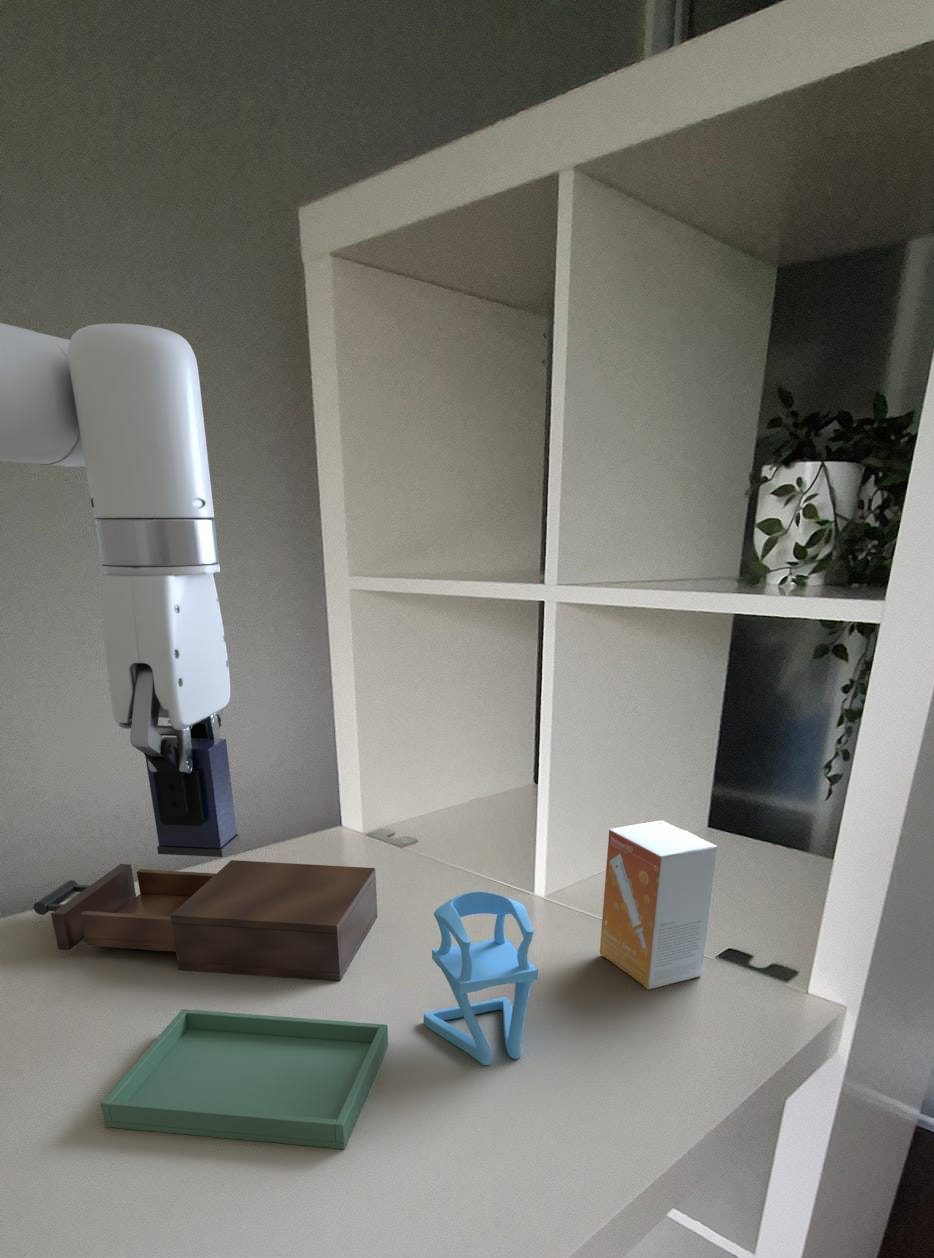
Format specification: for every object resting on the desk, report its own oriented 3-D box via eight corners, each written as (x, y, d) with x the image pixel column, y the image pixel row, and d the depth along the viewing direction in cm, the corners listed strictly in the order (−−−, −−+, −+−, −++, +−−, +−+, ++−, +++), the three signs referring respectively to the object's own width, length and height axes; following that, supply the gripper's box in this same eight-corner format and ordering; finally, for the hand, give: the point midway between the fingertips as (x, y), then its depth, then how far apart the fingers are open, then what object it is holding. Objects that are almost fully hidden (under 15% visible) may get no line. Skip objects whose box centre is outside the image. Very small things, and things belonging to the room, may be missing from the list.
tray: (104, 1127, 63) (99, 1103, 62) (185, 1029, 75) (182, 1008, 74) (344, 1149, 61) (343, 1125, 60) (388, 1045, 73) (387, 1024, 72)
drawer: (16, 947, 87) (7, 910, 85) (88, 894, 99) (82, 861, 97) (203, 960, 85) (198, 923, 83) (254, 904, 97) (250, 870, 95)
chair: (457, 1073, 69) (456, 931, 64) (422, 1021, 76) (419, 890, 71) (547, 1053, 72) (553, 915, 67) (506, 1005, 79) (508, 877, 74)
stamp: (157, 854, 67) (141, 747, 64) (178, 838, 71) (163, 736, 67) (222, 857, 67) (209, 750, 63) (239, 841, 70) (228, 738, 67)
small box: (597, 955, 88) (606, 827, 83) (651, 943, 91) (663, 818, 85) (647, 991, 82) (661, 855, 76) (703, 977, 84) (720, 844, 79)
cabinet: (178, 969, 85) (170, 915, 82) (236, 908, 98) (231, 859, 96) (340, 981, 83) (336, 925, 81) (377, 917, 96) (375, 867, 94)
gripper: (160, 545, 68) (191, 784, 75) (35, 554, 53) (91, 850, 61) (256, 545, 67) (279, 787, 75) (158, 555, 52) (198, 855, 60)
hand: (194, 813), depth 68 cm, fingers closed on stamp, 3 cm apart
